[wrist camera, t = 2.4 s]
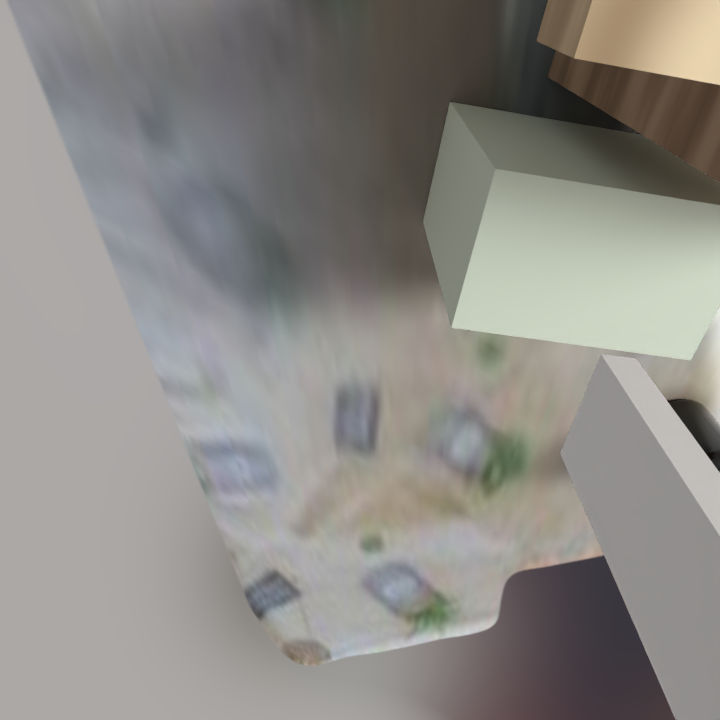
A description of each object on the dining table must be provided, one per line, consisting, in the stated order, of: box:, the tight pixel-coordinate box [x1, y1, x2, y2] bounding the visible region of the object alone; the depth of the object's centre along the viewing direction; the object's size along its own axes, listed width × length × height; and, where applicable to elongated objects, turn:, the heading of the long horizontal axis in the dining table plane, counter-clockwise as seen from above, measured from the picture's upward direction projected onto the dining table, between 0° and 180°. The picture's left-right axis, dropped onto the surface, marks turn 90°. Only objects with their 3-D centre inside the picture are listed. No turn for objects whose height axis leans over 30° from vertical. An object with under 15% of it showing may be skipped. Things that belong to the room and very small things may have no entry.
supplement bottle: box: [669, 400, 720, 472], centre depth 62 cm, size 7×7×12 cm
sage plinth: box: [423, 102, 720, 360], centre depth 45 cm, size 16×10×18 cm, turn 81°
